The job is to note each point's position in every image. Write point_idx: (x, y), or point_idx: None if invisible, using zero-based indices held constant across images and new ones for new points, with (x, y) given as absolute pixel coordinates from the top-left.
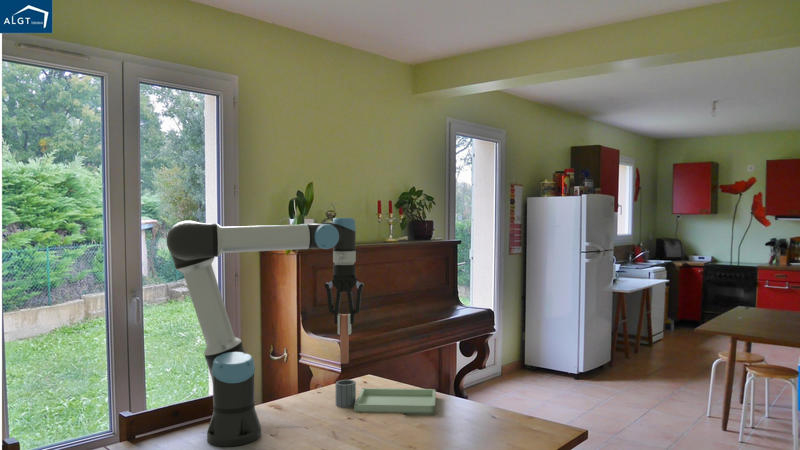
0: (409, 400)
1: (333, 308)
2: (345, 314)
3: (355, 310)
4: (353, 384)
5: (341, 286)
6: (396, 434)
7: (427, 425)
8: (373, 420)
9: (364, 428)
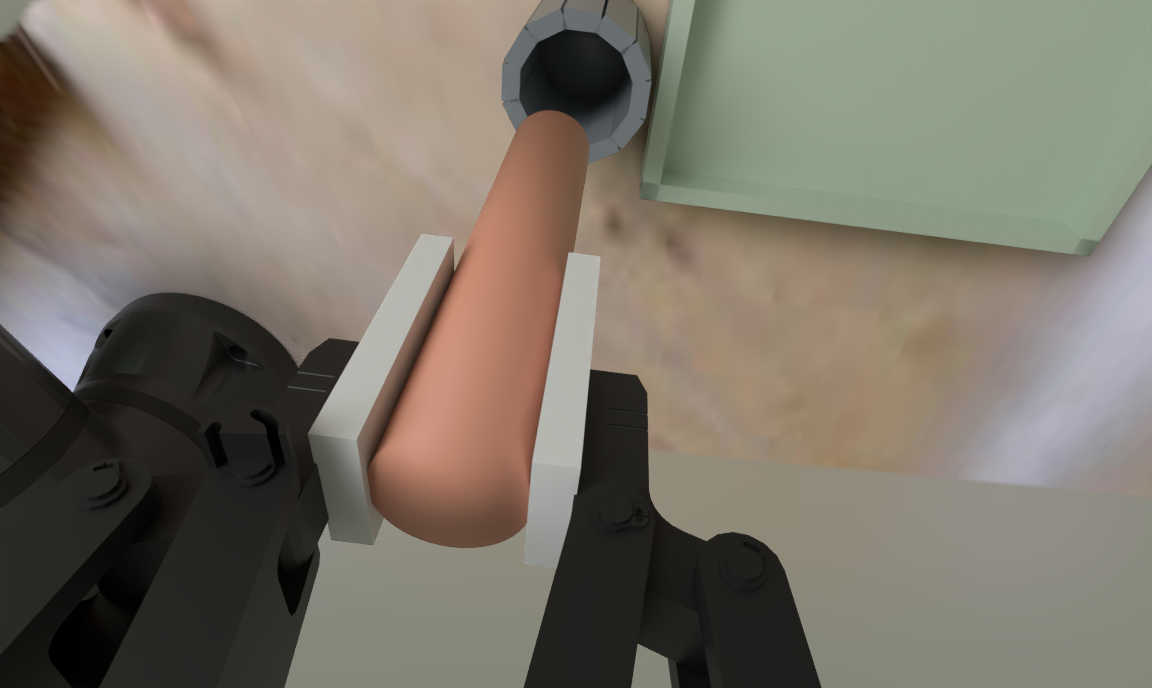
0: (1025, 6)
1: (128, 539)
2: (459, 462)
3: (670, 664)
4: (634, 132)
5: None
6: (798, 403)
7: (959, 338)
8: (729, 265)
9: (680, 343)
